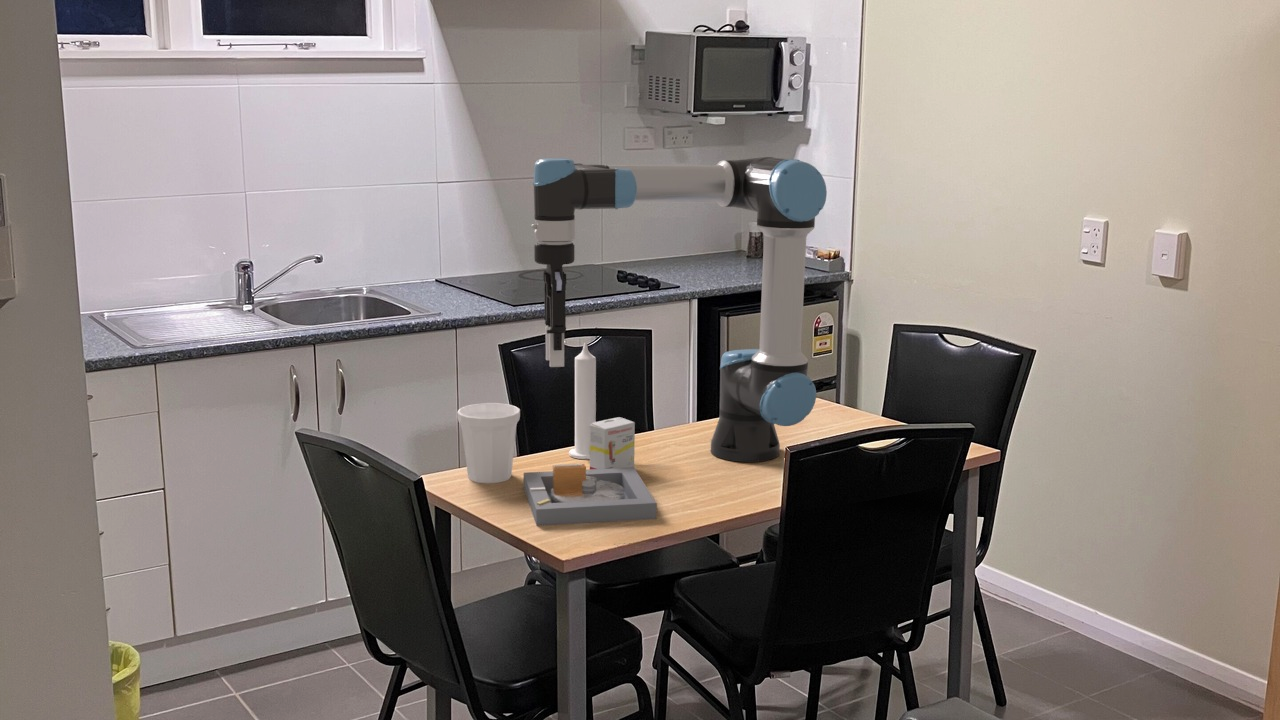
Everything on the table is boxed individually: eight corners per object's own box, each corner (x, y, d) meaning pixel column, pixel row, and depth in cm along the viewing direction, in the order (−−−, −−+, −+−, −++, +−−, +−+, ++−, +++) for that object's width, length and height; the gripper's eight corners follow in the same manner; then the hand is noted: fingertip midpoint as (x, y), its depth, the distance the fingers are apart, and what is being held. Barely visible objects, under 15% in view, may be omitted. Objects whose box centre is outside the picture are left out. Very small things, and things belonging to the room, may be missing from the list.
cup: (469, 472, 258) (467, 401, 255) (527, 476, 257) (527, 404, 253) (450, 491, 246) (449, 416, 243) (511, 495, 245) (511, 420, 241)
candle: (607, 456, 271) (607, 344, 265) (577, 461, 267) (578, 347, 262) (592, 448, 277) (592, 338, 271) (563, 452, 273) (563, 341, 268)
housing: (633, 488, 249) (634, 465, 248) (656, 526, 228) (656, 501, 227) (523, 494, 245) (523, 471, 244) (536, 533, 224) (536, 507, 223)
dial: (617, 487, 244) (617, 451, 243) (630, 511, 231) (631, 473, 229) (546, 491, 242) (546, 455, 240) (555, 515, 228) (555, 477, 227)
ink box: (604, 484, 252) (604, 428, 249) (588, 479, 255) (588, 423, 253) (635, 476, 257) (636, 421, 255) (619, 471, 261) (619, 416, 258)
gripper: (529, 236, 242) (530, 353, 247) (540, 248, 224) (540, 374, 229) (567, 236, 243) (567, 352, 248) (581, 247, 225) (581, 373, 230)
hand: (554, 362), depth 238 cm, fingers open, 5 cm apart
